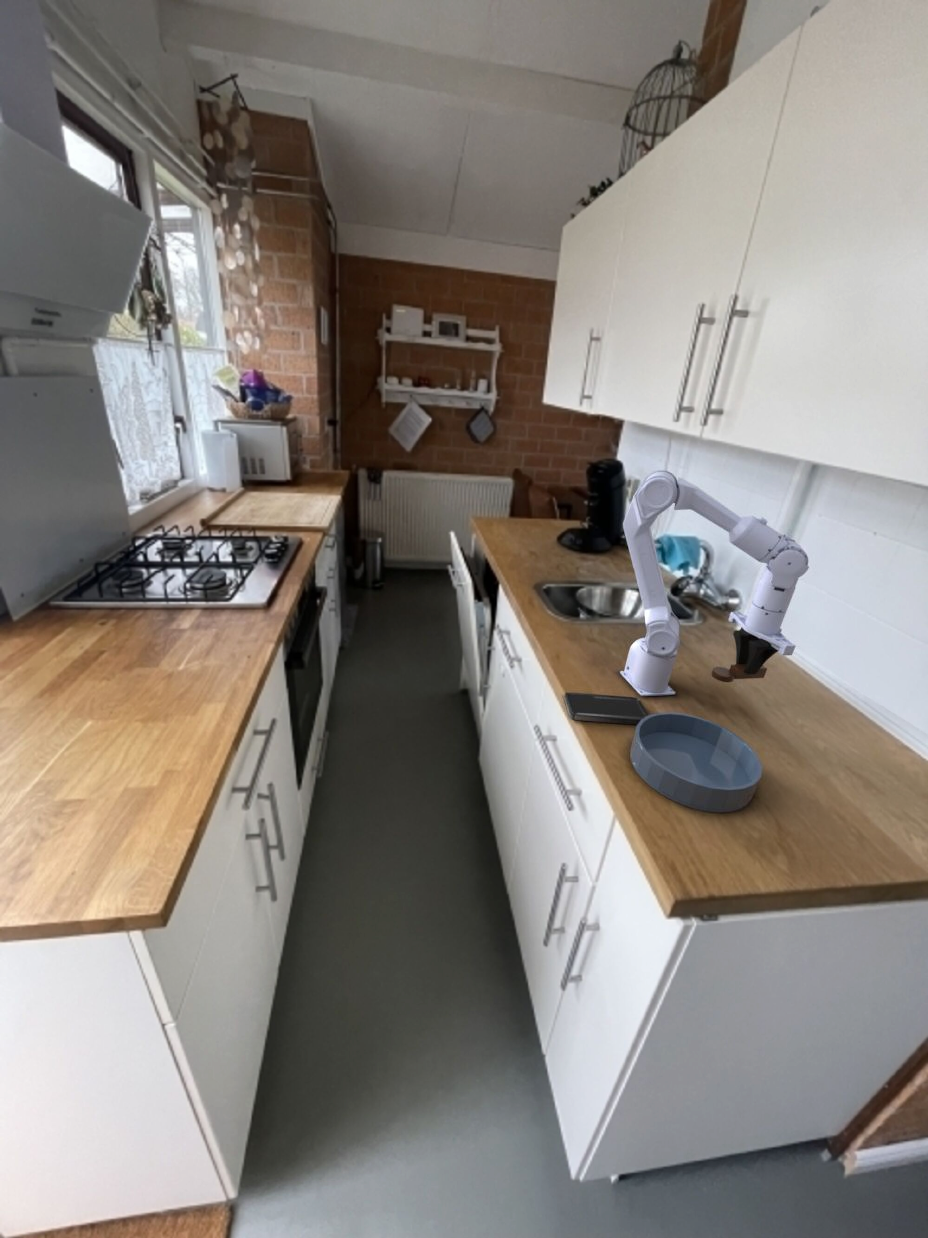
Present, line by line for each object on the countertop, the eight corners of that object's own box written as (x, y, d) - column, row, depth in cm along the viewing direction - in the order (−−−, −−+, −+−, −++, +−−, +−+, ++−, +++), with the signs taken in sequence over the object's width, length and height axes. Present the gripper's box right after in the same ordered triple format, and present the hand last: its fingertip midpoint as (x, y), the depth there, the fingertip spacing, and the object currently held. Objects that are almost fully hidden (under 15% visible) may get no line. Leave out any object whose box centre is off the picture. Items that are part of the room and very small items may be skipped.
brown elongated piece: (720, 683, 97) (723, 673, 96) (706, 672, 100) (710, 662, 100) (767, 680, 99) (771, 671, 98) (753, 670, 103) (756, 660, 102)
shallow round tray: (609, 735, 91) (615, 715, 89) (704, 729, 95) (711, 709, 94) (670, 818, 74) (678, 795, 72) (781, 806, 78) (791, 784, 77)
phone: (651, 721, 94) (571, 714, 94) (650, 725, 95) (570, 719, 94) (638, 697, 102) (564, 691, 101) (637, 702, 102) (563, 696, 102)
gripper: (819, 623, 88) (791, 689, 94) (759, 591, 101) (737, 651, 107) (785, 623, 87) (759, 691, 93) (728, 591, 100) (708, 652, 105)
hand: (745, 670), depth 100 cm, fingers closed on brown elongated piece, 2 cm apart
